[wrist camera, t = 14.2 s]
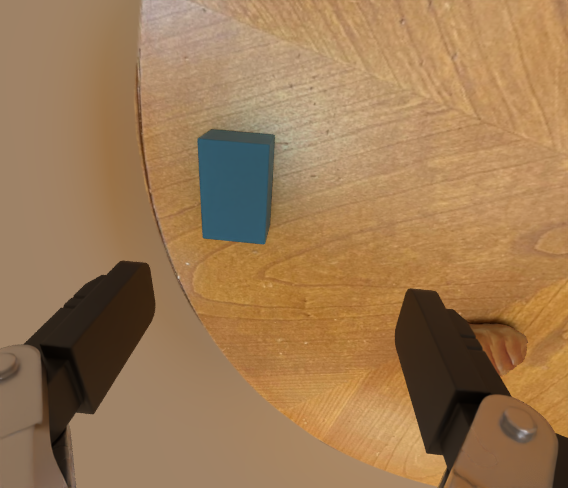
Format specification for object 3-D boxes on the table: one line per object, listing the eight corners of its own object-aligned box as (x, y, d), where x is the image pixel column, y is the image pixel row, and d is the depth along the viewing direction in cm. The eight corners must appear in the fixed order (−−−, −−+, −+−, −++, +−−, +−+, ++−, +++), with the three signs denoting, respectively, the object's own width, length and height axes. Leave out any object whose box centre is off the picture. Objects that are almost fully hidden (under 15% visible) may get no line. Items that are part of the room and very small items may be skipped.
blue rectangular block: (210, 128, 23) (197, 138, 21) (275, 134, 23) (269, 144, 20) (214, 219, 27) (202, 238, 24) (270, 225, 27) (264, 244, 24)
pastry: (510, 302, 28) (536, 334, 25) (524, 354, 31) (549, 390, 28) (401, 335, 31) (411, 368, 28) (422, 380, 34) (435, 416, 30)
